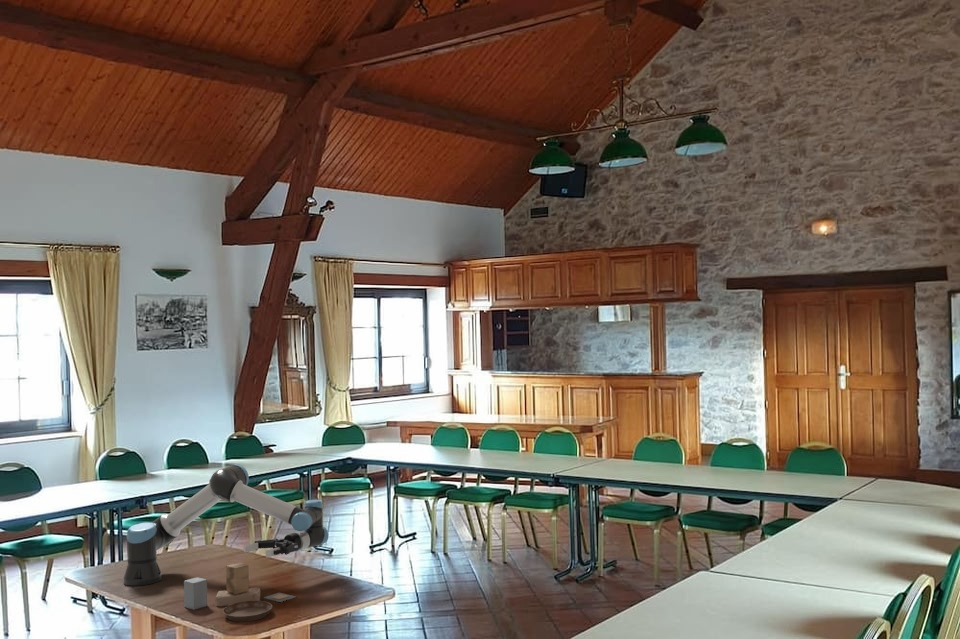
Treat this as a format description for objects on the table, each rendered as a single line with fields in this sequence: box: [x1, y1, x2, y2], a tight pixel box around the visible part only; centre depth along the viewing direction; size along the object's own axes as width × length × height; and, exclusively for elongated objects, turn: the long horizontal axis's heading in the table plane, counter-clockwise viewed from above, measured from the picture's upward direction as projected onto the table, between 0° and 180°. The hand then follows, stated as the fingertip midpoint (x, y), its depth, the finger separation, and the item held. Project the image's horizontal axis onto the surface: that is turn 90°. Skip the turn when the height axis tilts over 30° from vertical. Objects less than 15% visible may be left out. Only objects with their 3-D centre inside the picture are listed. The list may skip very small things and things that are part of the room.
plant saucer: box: [222, 600, 273, 622], centre depth 338 cm, size 18×18×3 cm
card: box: [263, 592, 297, 603], centre depth 359 cm, size 10×8×1 cm
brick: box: [214, 587, 261, 607], centre depth 355 cm, size 16×8×5 cm, turn 100°
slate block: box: [183, 576, 208, 610], centre depth 351 cm, size 6×6×10 cm
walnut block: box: [225, 562, 250, 594], centre depth 355 cm, size 6×6×10 cm
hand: (255, 551), depth 368 cm, fingers open, 13 cm apart
